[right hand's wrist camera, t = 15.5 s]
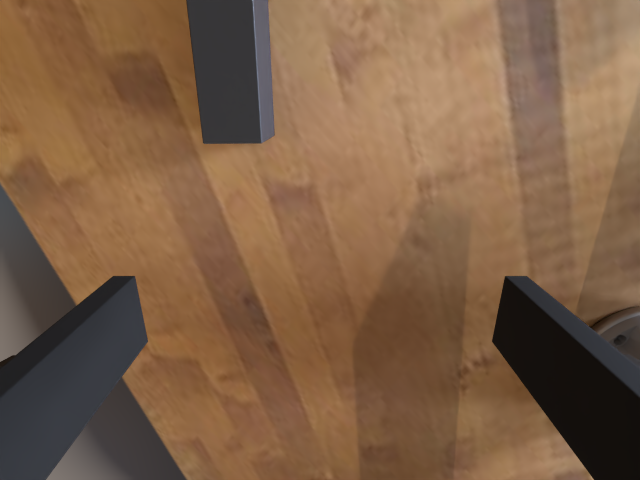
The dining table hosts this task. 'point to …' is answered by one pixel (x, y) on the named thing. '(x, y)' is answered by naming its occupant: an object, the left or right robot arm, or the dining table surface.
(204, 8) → the beam
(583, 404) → the right robot arm
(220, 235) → the dining table surface
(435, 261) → the dining table surface
